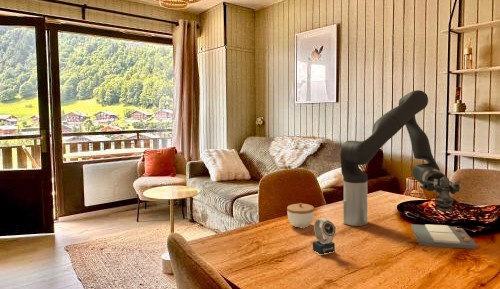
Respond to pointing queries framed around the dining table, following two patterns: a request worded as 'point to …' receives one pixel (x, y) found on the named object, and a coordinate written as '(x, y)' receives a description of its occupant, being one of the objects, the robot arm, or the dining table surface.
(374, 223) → the dining table surface
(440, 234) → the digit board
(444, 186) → the salt shaker
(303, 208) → the lidded jar
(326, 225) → the watch
